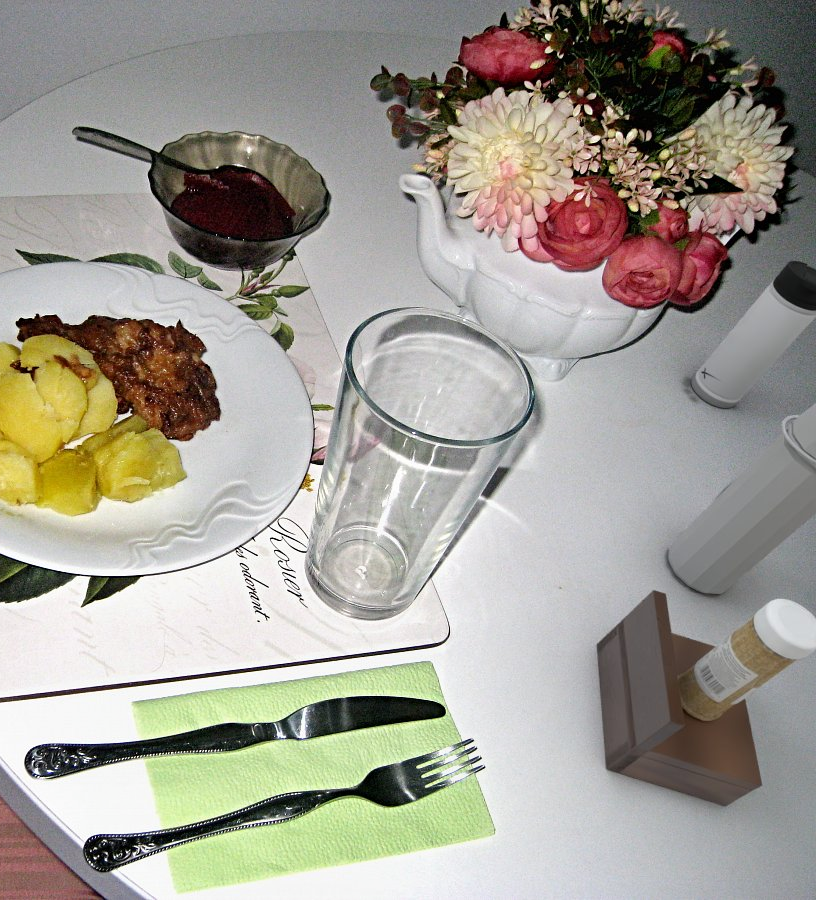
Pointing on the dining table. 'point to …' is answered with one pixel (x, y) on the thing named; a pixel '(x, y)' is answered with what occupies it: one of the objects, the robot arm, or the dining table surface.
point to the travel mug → (759, 337)
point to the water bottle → (752, 512)
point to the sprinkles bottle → (748, 659)
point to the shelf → (668, 712)
